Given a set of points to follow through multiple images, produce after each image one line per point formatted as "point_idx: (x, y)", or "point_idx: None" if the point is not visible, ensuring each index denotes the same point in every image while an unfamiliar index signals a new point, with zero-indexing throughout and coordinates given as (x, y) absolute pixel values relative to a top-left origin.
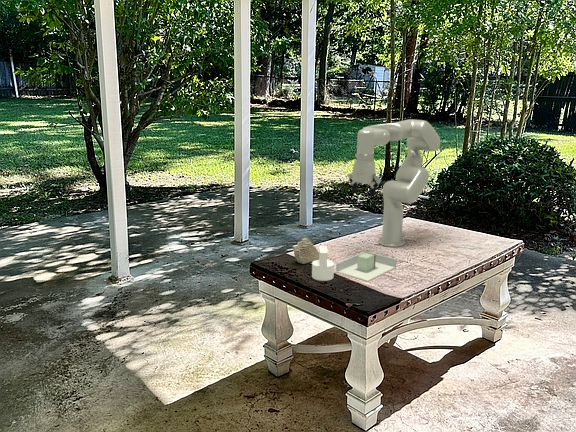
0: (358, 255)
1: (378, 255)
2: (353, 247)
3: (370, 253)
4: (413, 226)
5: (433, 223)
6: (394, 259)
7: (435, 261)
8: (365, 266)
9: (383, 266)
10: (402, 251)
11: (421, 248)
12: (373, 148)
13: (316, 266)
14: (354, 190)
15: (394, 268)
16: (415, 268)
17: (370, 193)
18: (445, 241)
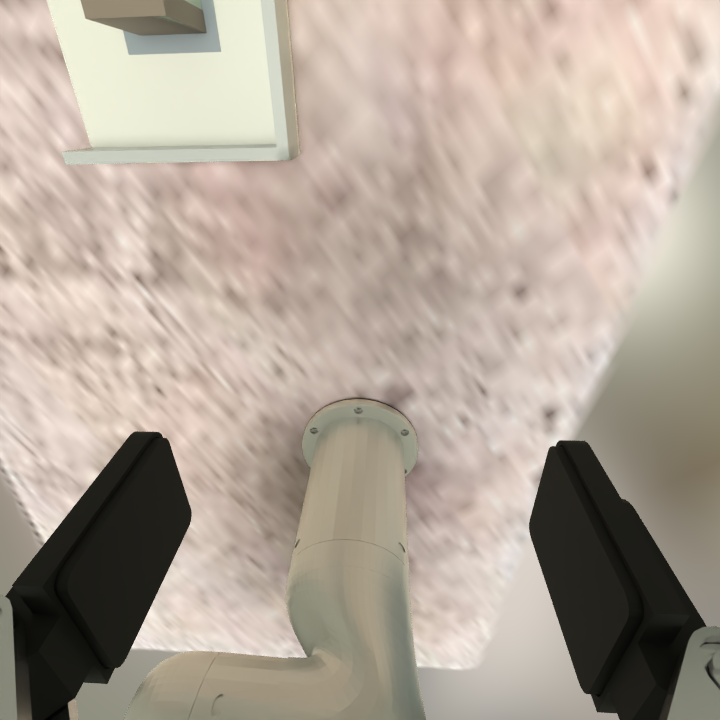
0: (265, 35)
1: (184, 148)
2: (471, 287)
3: (122, 2)
4: (413, 621)
5: None
6: (71, 151)
7: (82, 369)
8: None
9: (134, 104)
10: (258, 388)
11: (233, 461)
12: None
13: None
14: (568, 515)
15: (92, 139)
16: (48, 228)
17: (110, 479)
18: (232, 560)
